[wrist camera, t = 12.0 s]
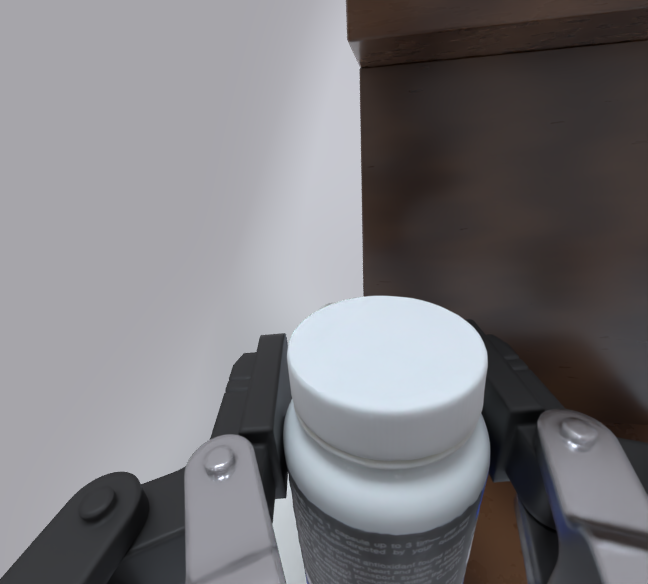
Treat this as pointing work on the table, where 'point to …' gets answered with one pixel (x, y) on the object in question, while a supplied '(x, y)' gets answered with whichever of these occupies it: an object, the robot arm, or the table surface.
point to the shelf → (514, 196)
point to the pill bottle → (386, 441)
